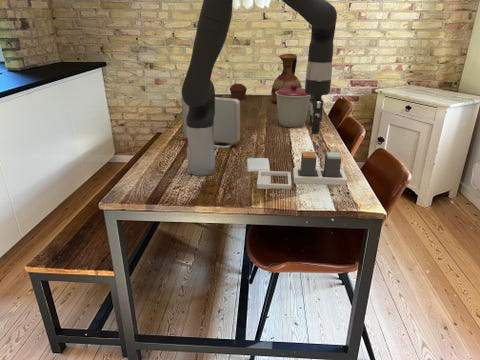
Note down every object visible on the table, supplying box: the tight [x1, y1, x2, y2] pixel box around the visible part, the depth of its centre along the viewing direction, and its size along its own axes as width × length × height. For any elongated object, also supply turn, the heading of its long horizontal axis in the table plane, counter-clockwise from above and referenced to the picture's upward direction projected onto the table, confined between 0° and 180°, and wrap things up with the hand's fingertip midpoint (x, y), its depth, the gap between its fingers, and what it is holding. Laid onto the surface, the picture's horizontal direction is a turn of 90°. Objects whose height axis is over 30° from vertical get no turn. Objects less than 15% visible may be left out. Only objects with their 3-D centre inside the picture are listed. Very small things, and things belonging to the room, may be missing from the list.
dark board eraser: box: [323, 151, 342, 178], centre depth 118 cm, size 4×4×9 cm
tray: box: [256, 170, 292, 190], centre depth 118 cm, size 11×11×2 cm
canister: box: [275, 83, 311, 129], centre depth 178 cm, size 18×18×21 cm
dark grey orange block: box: [300, 150, 317, 177], centre depth 118 cm, size 4×4×9 cm
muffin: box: [229, 83, 248, 102], centre depth 236 cm, size 12×11×10 cm
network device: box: [180, 96, 241, 149], centre depth 152 cm, size 26×9×20 cm, turn 68°
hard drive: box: [246, 157, 271, 173], centre depth 132 cm, size 2×8×12 cm
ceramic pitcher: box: [270, 53, 303, 103], centre depth 223 cm, size 20×20×30 cm
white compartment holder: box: [292, 167, 348, 186], centre depth 120 cm, size 17×8×3 cm, turn 84°
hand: (313, 129), depth 113 cm, fingers open, 8 cm apart
